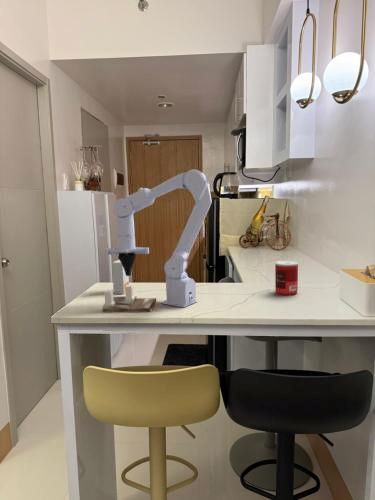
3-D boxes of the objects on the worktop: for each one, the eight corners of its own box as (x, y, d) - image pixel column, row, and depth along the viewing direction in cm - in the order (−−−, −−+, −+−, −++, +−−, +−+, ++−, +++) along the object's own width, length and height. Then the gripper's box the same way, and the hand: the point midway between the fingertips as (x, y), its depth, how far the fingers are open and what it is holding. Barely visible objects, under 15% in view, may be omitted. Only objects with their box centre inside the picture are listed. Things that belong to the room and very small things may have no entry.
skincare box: (124, 294, 136) (122, 262, 134) (113, 294, 137) (111, 262, 135) (130, 290, 142) (128, 259, 140) (119, 290, 143) (117, 259, 141)
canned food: (299, 290, 133) (299, 261, 132) (295, 296, 126) (296, 265, 125) (277, 289, 137) (277, 260, 135) (273, 294, 129) (273, 264, 128)
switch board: (156, 301, 126) (156, 295, 126) (149, 311, 114) (149, 306, 114) (113, 301, 127) (113, 296, 127) (102, 312, 115) (102, 306, 115)
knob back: (135, 298, 125) (134, 284, 124) (133, 300, 122) (132, 286, 122) (126, 298, 125) (126, 284, 125) (124, 300, 122) (124, 286, 122)
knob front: (115, 303, 119) (114, 289, 118) (112, 306, 116) (111, 291, 116) (106, 303, 119) (105, 289, 119) (103, 306, 117) (103, 291, 116)
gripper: (101, 237, 119) (104, 278, 121) (145, 236, 118) (147, 277, 120) (107, 235, 126) (110, 273, 128) (149, 233, 125) (151, 272, 127)
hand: (128, 275), depth 124 cm, fingers closed
